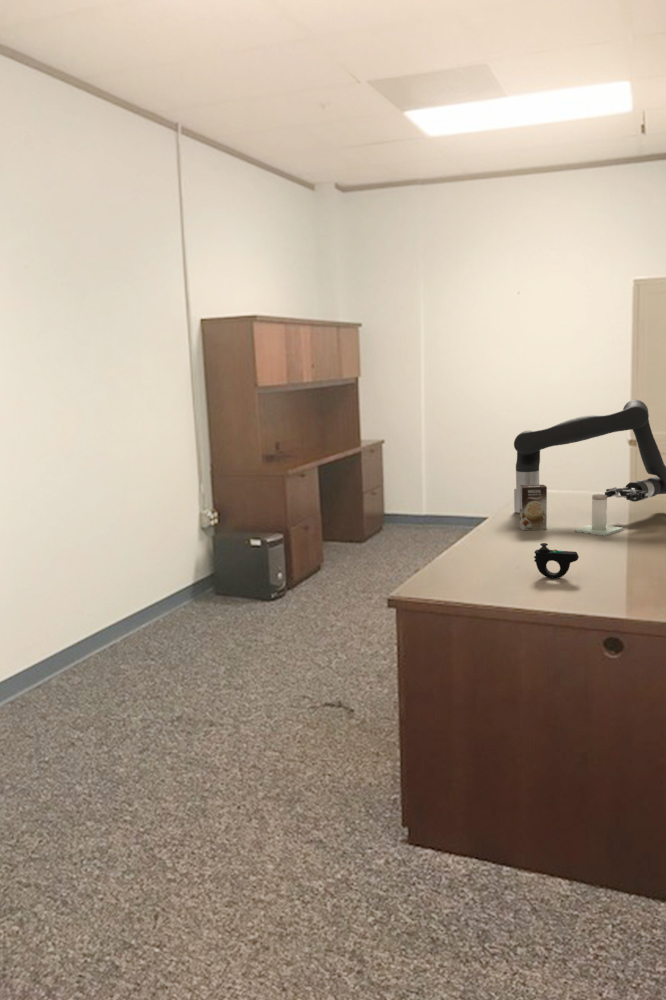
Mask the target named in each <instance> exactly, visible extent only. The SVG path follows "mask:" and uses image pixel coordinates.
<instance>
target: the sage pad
mask: <svg viewBox="0 0 666 1000" xmlns="http://www.w3.org/2000/svg"><path fill="white" fill-rule="evenodd" d="M623 530H624V527H620V526H614V525H613V526H612V525H606V529H605V530H595V529H592V523H591V524H588V525H585V526H581V527H579V528H575V529H574V532H575V531H577V532H576V533H581V532H584V533H583V534H588V533H591V534H590V535H595V534H597V536H602V535H603V537H606V536H608V535H609V536H610V535H613V534H615V533H619V532H622V531H623Z"/></svg>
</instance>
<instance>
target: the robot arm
mask: <svg viewBox="0 0 666 1000" xmlns="http://www.w3.org/2000/svg"><path fill="white" fill-rule="evenodd" d="M649 417H650V415H649V409H648V406H647V405H646V404H645V402H643V401H641V400H639V399H632V400H629V401H628V402H626V403H625V405H624V406H623V408H622V410H620V411H617V412H614V413H611V414H605V415H595V414H594V415H583V416H579V417H575V418H571V419H567V420H565V421H563V422H560V423H558V424H555V425H552V426H551V427H548V428H543V429H540V430H534V431H533V430H524V431H522V432H520V433H519V434H517V436H516V437H515V439H514V440H513V447H514V450H515V451H516V463H515V488H514V490H513V499H514V500H513V501H514V503H513V504H514V509H513V511H514V513H517V514H520V485H540V463H541V450H544V449H548V448H552V447H555V446H557V447H558V446H563V445H564V446H565V445H569V444H572V443H573V444H575V443H578V442H579V443H580V442H583V441H587V440H590V439H594V438H598V437H602V436H605V435H608V434H612V433H618V432H625V431H630V430H632V432H633V434H634V436H635V437H634V438H635V439H636V443H637V447H638V451H639V455H640V458H641V461H642V463H643V466H644V468H645V471H646V473H647V474H648V475H653V476H652V477H649V478H647V479H640V480H635V481H630V482H629V483H626V485H625V486H623V487H617V486H616V487H611V488H610V487H609V488H606V490H605V492H604V495H607V499H608V498H612V497H615V498H617V499H618V498H624V499H626V501H630V502H632V503H633V502H635V503H636V502H639V501H644V500H646V499H648V498H653V497H655V496H657V495H665V494H666V465H665V463H664V460H663V458H662V454H661V452H660V449H659V447H658V444H657V441H656V440H655V437H654V435H653V431H652V429H651V425H650V420H649Z"/></svg>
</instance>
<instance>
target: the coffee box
mask: <svg viewBox="0 0 666 1000" xmlns="http://www.w3.org/2000/svg"><path fill="white" fill-rule="evenodd" d="M547 489H548V486H547V485H545V484H539V485H520V513H519V528H520V529H521V531H543V530H542V529H546V530H547V528H548V527H547V520H548V519H547V517H548V516H547V515H548V514H547V510H548V507H547V505H548V504H547V503H548V502H547V497H548V495H547V494H548V493H547V491H548V490H547ZM540 529H541V530H540Z"/></svg>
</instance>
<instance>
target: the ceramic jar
mask: <svg viewBox="0 0 666 1000" xmlns="http://www.w3.org/2000/svg"><path fill="white" fill-rule="evenodd" d="M591 501H592V502H591V524H592V529H595V530H605V529H606V526H607V522H608V521H607V517H608V515H607V514H608V513H607V510H608V509H607V508H608V498H607V495H605V494H604V493H603V494H600V493H599V494H597V493H596V494H592V495H591Z"/></svg>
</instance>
